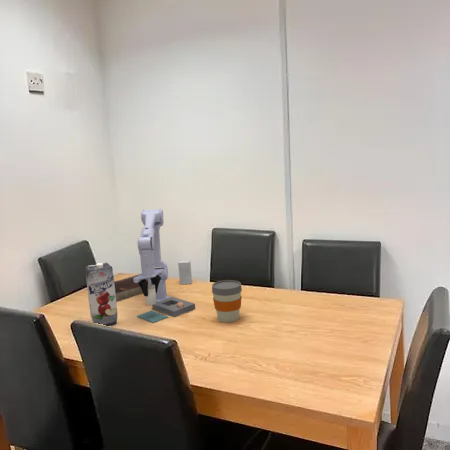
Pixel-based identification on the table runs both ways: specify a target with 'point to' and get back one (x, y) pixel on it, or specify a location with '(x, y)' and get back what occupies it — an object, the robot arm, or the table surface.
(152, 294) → the filter cartridge
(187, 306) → the grey board with holes
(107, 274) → the juice carton
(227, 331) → the table surface
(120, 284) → the hardback book
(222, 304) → the reusable coffee cup
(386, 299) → the table surface
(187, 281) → the skincare box
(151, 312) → the mat
